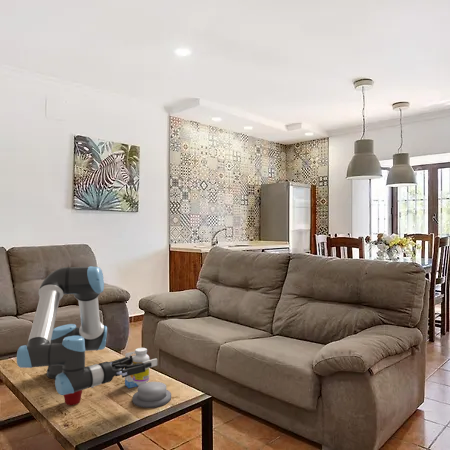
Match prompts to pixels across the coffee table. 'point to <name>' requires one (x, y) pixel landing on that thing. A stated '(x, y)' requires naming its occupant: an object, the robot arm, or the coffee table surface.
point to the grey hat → (151, 395)
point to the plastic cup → (73, 398)
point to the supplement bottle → (138, 359)
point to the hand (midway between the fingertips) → (151, 359)
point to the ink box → (129, 379)
